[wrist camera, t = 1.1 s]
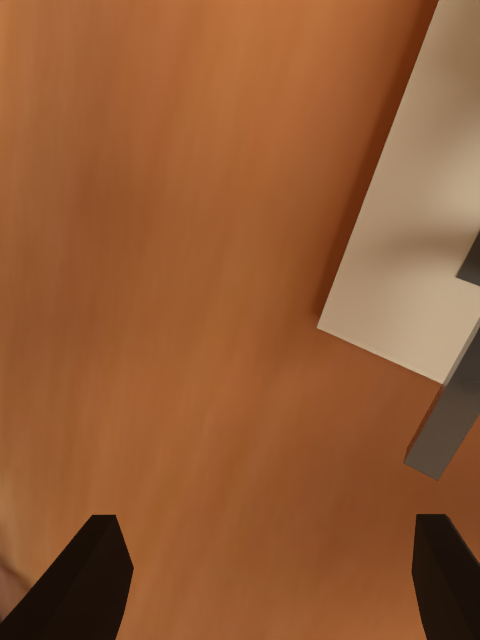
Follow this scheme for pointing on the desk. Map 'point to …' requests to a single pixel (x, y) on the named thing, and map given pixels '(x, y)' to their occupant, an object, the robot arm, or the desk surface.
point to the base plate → (421, 214)
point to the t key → (449, 413)
